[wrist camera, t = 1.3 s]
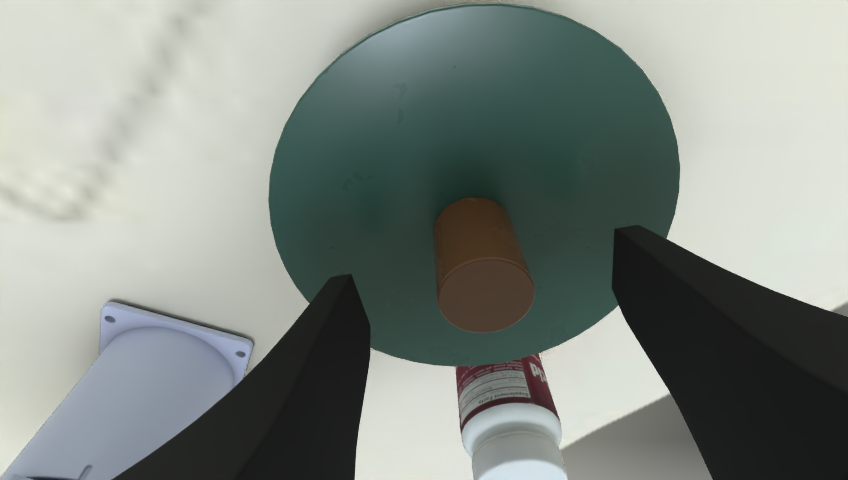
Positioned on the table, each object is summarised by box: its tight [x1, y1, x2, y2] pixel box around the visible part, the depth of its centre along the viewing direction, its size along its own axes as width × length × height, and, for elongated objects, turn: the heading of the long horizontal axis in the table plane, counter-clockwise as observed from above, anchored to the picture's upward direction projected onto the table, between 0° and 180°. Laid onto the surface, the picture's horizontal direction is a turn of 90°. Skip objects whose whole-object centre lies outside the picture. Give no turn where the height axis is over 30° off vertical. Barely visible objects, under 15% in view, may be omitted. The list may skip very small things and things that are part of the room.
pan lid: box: [269, 2, 680, 366], centre depth 13 cm, size 13×13×4 cm
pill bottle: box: [455, 353, 568, 480], centre depth 22 cm, size 5×5×8 cm
